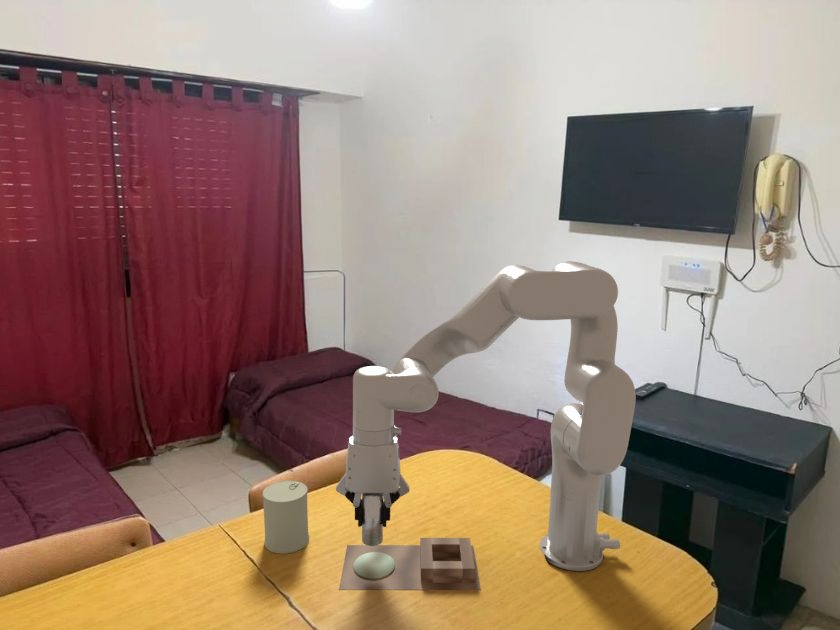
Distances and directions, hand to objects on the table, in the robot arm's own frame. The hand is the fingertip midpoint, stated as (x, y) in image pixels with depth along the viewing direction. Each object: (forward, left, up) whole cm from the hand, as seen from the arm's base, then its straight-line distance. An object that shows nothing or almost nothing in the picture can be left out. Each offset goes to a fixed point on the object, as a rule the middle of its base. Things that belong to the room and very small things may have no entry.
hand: (372, 522), depth 114 cm
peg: (0, 0, -4) cm, 4 cm away
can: (+19, -10, -11) cm, 24 cm away
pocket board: (-7, 0, -10) cm, 13 cm away
